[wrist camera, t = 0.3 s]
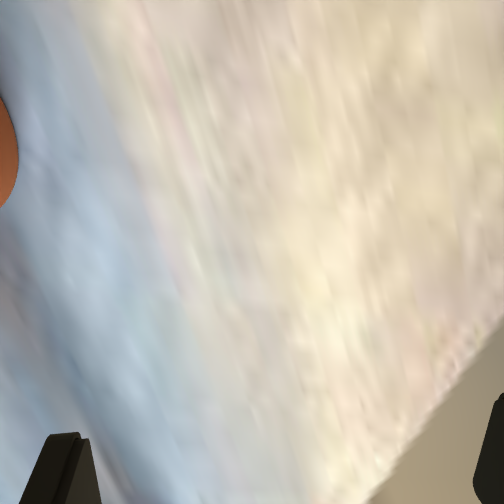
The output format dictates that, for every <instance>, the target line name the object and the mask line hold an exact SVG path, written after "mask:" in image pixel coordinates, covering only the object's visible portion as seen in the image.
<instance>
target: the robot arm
mask: <svg viewBox="0 0 504 504" xmlns="http://www.w3.org/2000/svg"><path fill="white" fill-rule="evenodd" d="M473 487H474V491H475V493H476V495H477V497H478V498H479V500H480V501H481V503H482V504H504V393H502V394H501V395H500V396H499V399H498V400H496V401H495V403H494V405H493V409H492V413H491V416H490V420H489V423H488V427H487V430H486V434H485V438H484V441H483V445H482V449H481V453H480V456H479V459H478V463H477V467H476V470H475V473H474V477H473ZM19 504H102V502H101V497H100V492H99V487H98V482H97V476H96V471H95V466H94V461H93V456H92V451H91V445H90V441H89V439H88V438H86V439H81V436H80V433H79V432H72V433H61V434H50V435H49V436H48V437H47V439H46V441H45V443H44V446H43V448H42V450H41V453H40V455H39V457H38V460H37V462H36V464H35V467H34V469H33V471H32V474H31V476H30V478H29V481H28V483H27V485H26V488H25V490H24V492H23V495H22V497H21V500H20V502H19Z"/></svg>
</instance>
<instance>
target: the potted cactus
mask: <svg viewBox="0 0 504 504" xmlns="http://www.w3.org/2000/svg"><path fill="white" fill-rule="evenodd" d="M17 172H18V147H17V142H16V136H15V133H14V129H13V126H12V123H11V120H10V117H9V115H8V112H7V110H6V108H5V106H4V103H3V102H2V100H1V98H0V208H1V206H2V205H3V204H4V203H5V202H6V200H7V199H8V197H9V196H10V194H11V192H12V189H13V187H14V184H15V181H16V178H17Z"/></svg>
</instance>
